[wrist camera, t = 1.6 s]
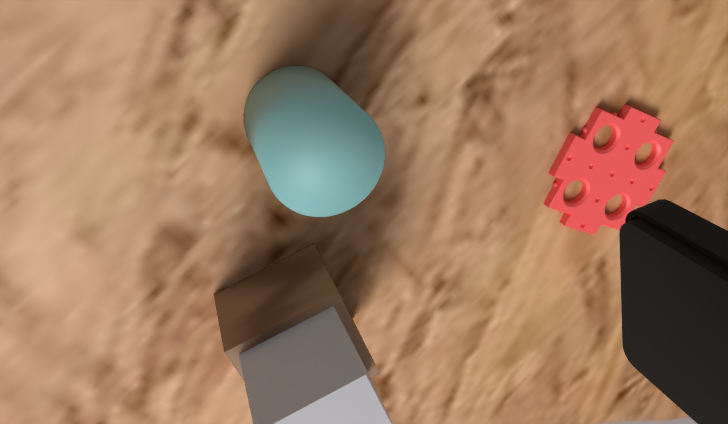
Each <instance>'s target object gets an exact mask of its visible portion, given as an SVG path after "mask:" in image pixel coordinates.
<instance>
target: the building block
mask: <svg viewBox="0 0 728 424" xmlns="http://www.w3.org/2000/svg"><path fill="white" fill-rule="evenodd" d="M660 121H661V120H660V119H658V118H656V117H653V116H651V115H649V114H647V113H645V112H642V111H640V110H638V109H636V108H633V107H631V106H629V105H626V104H625V105H624V107H623V108H622V110H621V112H620V114H619V116H617V113H615V112H613V113H612V114H611V113H609V112H607V111H604V110H602V109H600V108H597V107H596V108H595V109H594V111H593V113H592V115H591V117H590V119H589V120H588V122H587V124H586V126H585V127H584V128H583V131H582V133H581V135H580V136H578V135H576V134H573V133H569V135H568V137H567V139H566V141H565V143H564V145H563V147H562V148H561V150H560V152H559V154H558V156H557V158H556V160H555V161H554V163H553V165H552V167H551V169H550V171H549V174H550V175H552V176H553V177H556V178H557V180H556V181H555V182H554V183H553V187H552V189H551V191H550V192H549V194H548V196H547V198H546V200H545V202H544V205H546V206H547V207H548V208H551V209H555V210H558V211H559V212H561V213H563V212H564V214H563V216H562V218H561V220H560V223H562V224H563V225H564V226H567V227H570V228H573V229H577V230H580V231H583V232H586V233H590V234H593V235H595V233H596V232H597V230H598V228H599V226H600V225H602V226H603V225H605V226H608V227H612V228H615V229H618V230H620V228H621V226H622V225H623V224H624V223H625V219H626V216H627V214H628V213H629V212H631V211H632V210H634V208H635V206H636V205H637V206H639V207H642V206H645V205H647V203H648V201H649V200H650V198H651V196H652V195H653V193H654V191H655V190H656V188H657V186H658V185H659V183H660V181H661V180H662V178H663V176H664V175H665V173H666V171H665V170H663V169H661V168H659V166H660V164H661V162H662V161H663V159H664V157H665V156H666V154H667V152H668V151H669V149H670V147H671V146H672V144H673V142H674V141H673V140H671V139H669V138H667V137H664V136H662V135H660V134H658V131H656V128H657V126H658V125H659V123H660ZM605 125H610V126H611V128H612V136H611V138H610V140H609V142H608V143H607V144H606V145H605V146H603V147H601V148H595V147H594V144H593V139H594V136H595V134H596V132H597V131H598V130H599V129H600V128H601V127H603V126H605ZM647 142H651V144H652V152H651V154H650V156H649V158H648V159H647V160H646V161H645V162H643V163H641V164H636V163H635V154H636V152H637V150H638V149H639V148H640V147H641V146H642V145H643V144H645V143H647ZM575 180H581V181H582V190H581V192H580V194H579V195H578V196H577V197H576V198H575V199H573V200H571V201H565V200H564V191H565V189H566V187H567V186H568V185H569V184H570V183H571V182H572V181H575ZM618 194H621V195H622V203H621V206H620V207H619V208H618V210H617V211H615V212H614V213H612V214H606V213H605V207H606V204H607V202H608V201H609V200H610V199H611V198H612V197H613V196H615V195H618Z"/></svg>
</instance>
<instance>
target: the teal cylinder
mask: <svg viewBox="0 0 728 424" xmlns="http://www.w3.org/2000/svg"><path fill="white" fill-rule="evenodd" d="M244 128H245V131H246V134H247V137H248V139H249V141H250V143H251V146H252V148H253V150H254V152H255V154H256V157H257V159H258V161H259V163H260V166H261V168H262V170H263V172H264V174H265V177H266V179H267V181H268V183H269V185H270V188H271V190H272V191H273V193H274V195H275V196H276V197H277V198H278V200H279V201H280V202H281V203H283V204H284V205H285V206H286V207H288V208H289V209H291V210H293V211H295V212H297V213H299V214H302V215H306V216H312V217H328V216H333V215H337V214H340V213H343V212H345V211H347V210H350V209H351V208H353V207H355V206H356V205H358V204H359V203H360V202H362V201H363V200H364V199H365V198H366V197H367V196H368V195H369V194H370V192H371V191H372V190H373V189H374V187H375V186H376V184H377V182H378V180H379V178H380V176H381V173H382V171H383V167H384V162H385V146H384V140H383V137H382V134H381V132H380V130H379V128H378V126H377V125H376V123H375V122H374V120H373V119H372V118H371V117H370V116H369V115H368V114H367V113H366V112H365V111H364V110H363V109H362V108H360V107H359V106H358V105H357V104H356V103H355V102H354V101H353V100H352V99H351V98H350V97H349V96H348V95H347V94H346V93H345V92H343V91H342V90H341V89H340V88H339V87H338V86H337V85H336V84H335V83H334V82H333V81H332V80H331V79H330V78H328V77H327V76H326V75H325V74H323V73H322V72H320V71H318V70H316V69H313V68H310V67H306V66H286V67H283V68H279V69H277V70H274V71H272V72H270V73H269V74H267V75H266V76H264V77H263V78H262V79H261V80H260V81H259V82H258V83H257V84H256V85H255V86H254V87H253V89H252V90H251V92H250V94H249V96H248V98H247V100H246V104H245V107H244Z"/></svg>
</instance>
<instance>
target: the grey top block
mask: <svg viewBox="0 0 728 424" xmlns="http://www.w3.org/2000/svg"><path fill="white" fill-rule="evenodd" d="M239 358H240V363H241V368H242V372H243V377H244V382H245V386H246V391H247V396H248V401H249V405H250V410H251V415H252V420H253V424H392V421H391V419H390V417H389V415H388V413H387V411H386V409H385V407H384V405H383V403H382V401H381V398H380V396H379V394H378V392H377V390H376V388H375V386H374V384H373V382H372V380H371V378H370V375H369V373H368V371H367V369H366V368H365V366H364V364H363V362H362V360H361V358H360V356H359V354H358V352H357V350H356V348H355V346H354V344H353V343H352V341H351V339H350V337H349V335H348V333H347V331H346V329H345V327H344V325H343V323H342V321H341V319H340V318H339V316H338V314H337V312H336V310H335V308H334V306H332V307H330V308H328V309H326V310H324V311H322V312H320V313H318V314H317V315H315V316H313V317H311V318H309V319H307V320H305V321H303V322H301V323H299V324H297V325H295V326H293V327H291V328H289V329H288V330H286V331H284V332H282V333H280V334H278V335H276V336H274V337H272V338H270V339H268V340H266V341H264V342H262V343H261V344H259V345H257V346H255V347H253V348H251V349H249V350H247V351H245V352H243V353H241V354H239Z"/></svg>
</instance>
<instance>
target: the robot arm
mask: <svg viewBox="0 0 728 424" xmlns="http://www.w3.org/2000/svg"><path fill="white" fill-rule="evenodd" d="M620 265H621V301H622V338H623V349H624V352H625V355H626V357H627V358H628V360H629V361H630V363H631V364H632V365H633V366H634V367H635V368H636V369H637V370H638V371H639V372H640V373H641V374H643V375H644V376H645V377H646V378H647V379H648V380H649V381H650V382H652V383H653V384H654V385H655V386H656V387H657V388H658V389H659V390H661V391H662V392H663V393H664V394H665V395H666V396H667V397H668V398H669V399H671V400H672V401H673V402H674V403H675V404H676V405H677V406H678V407H680V408H681V409H682V410H683V411H684V412H685V413H686V414H687V415H689V416H690V417H691V418H692V419H693V420H694V421H695V422H696V423H698V424H728V231H727V230H725V229H723V228H721V227H719V226H717V225H715V224H713V223H711V222H709V221H707V220H705V219H703V218H702V217H700V216H698V215H696V214H694V213H692V212H690V211H688V210H686V209H684V208H682V207H680V206H678V205H676V204H674V203H673V202H671V201H668V200H665V199H663V200H657V201H655V202H652V203H650V204H647V205H645V206H642V207H640V208H637V209H635V210H632V211H631V212H629V213H628V214H627V216H626V219H625V223H624V224H623V225H622V226H621V228H620Z"/></svg>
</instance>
